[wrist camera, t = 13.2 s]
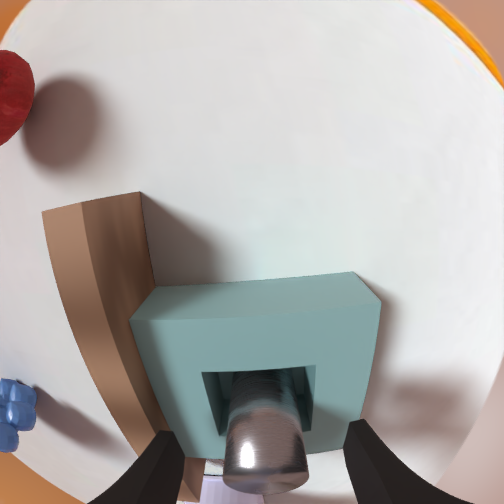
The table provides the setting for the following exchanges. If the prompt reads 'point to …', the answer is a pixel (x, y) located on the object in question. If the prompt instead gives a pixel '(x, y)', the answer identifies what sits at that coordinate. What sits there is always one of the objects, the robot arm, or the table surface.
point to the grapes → (15, 412)
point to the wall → (112, 311)
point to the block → (259, 352)
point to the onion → (14, 93)
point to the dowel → (264, 434)
